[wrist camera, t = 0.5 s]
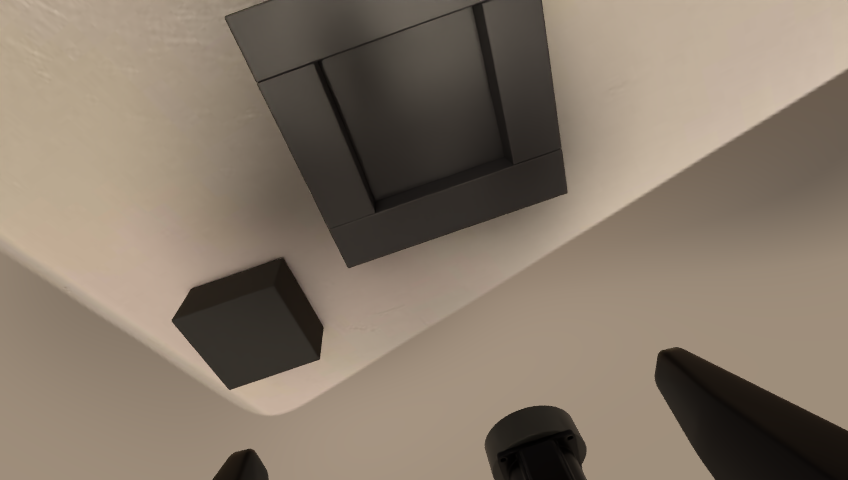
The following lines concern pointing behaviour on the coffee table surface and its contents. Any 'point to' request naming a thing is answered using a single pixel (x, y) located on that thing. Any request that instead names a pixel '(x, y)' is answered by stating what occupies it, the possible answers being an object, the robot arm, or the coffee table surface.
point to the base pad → (409, 111)
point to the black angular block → (251, 324)
